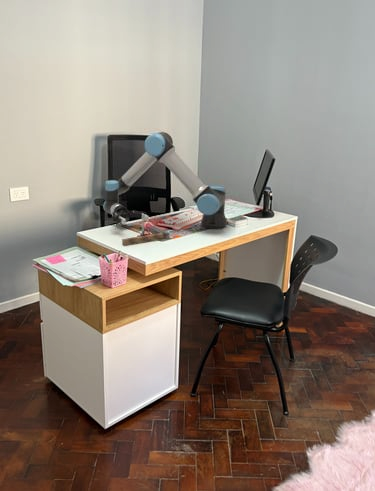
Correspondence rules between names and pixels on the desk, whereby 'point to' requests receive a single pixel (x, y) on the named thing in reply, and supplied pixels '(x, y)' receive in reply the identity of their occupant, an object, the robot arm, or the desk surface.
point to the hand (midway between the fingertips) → (136, 220)
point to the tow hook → (143, 229)
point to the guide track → (147, 236)
